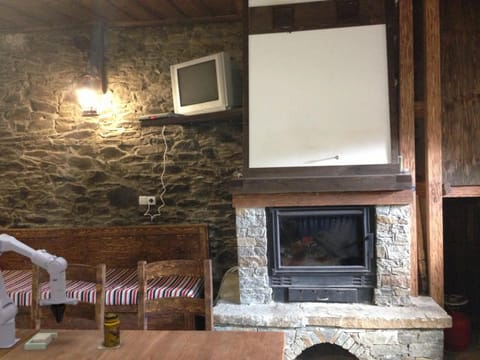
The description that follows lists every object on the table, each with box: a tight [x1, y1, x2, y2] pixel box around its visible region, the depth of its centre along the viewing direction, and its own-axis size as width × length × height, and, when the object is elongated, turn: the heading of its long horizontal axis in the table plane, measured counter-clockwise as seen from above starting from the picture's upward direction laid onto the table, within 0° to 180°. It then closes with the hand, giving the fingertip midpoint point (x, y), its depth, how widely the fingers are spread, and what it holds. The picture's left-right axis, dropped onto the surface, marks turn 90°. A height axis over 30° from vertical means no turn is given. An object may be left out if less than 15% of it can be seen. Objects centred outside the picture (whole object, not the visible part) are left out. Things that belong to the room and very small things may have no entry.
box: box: [23, 332, 58, 351], centre depth 165 cm, size 8×11×2 cm
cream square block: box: [33, 334, 52, 347], centre depth 165 cm, size 5×5×3 cm
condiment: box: [97, 312, 123, 350], centre depth 163 cm, size 7×8×12 cm
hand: (59, 322), depth 165 cm, fingers closed
